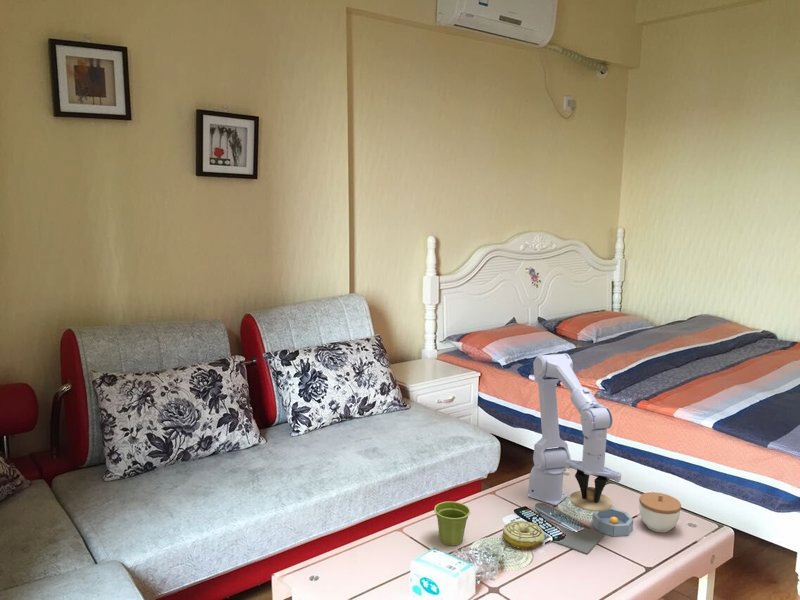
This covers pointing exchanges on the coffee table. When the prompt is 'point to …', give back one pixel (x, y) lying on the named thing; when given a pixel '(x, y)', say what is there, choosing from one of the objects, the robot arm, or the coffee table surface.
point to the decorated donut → (523, 534)
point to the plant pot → (451, 521)
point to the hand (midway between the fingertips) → (590, 499)
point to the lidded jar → (659, 511)
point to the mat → (580, 539)
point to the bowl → (613, 522)
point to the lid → (591, 501)
